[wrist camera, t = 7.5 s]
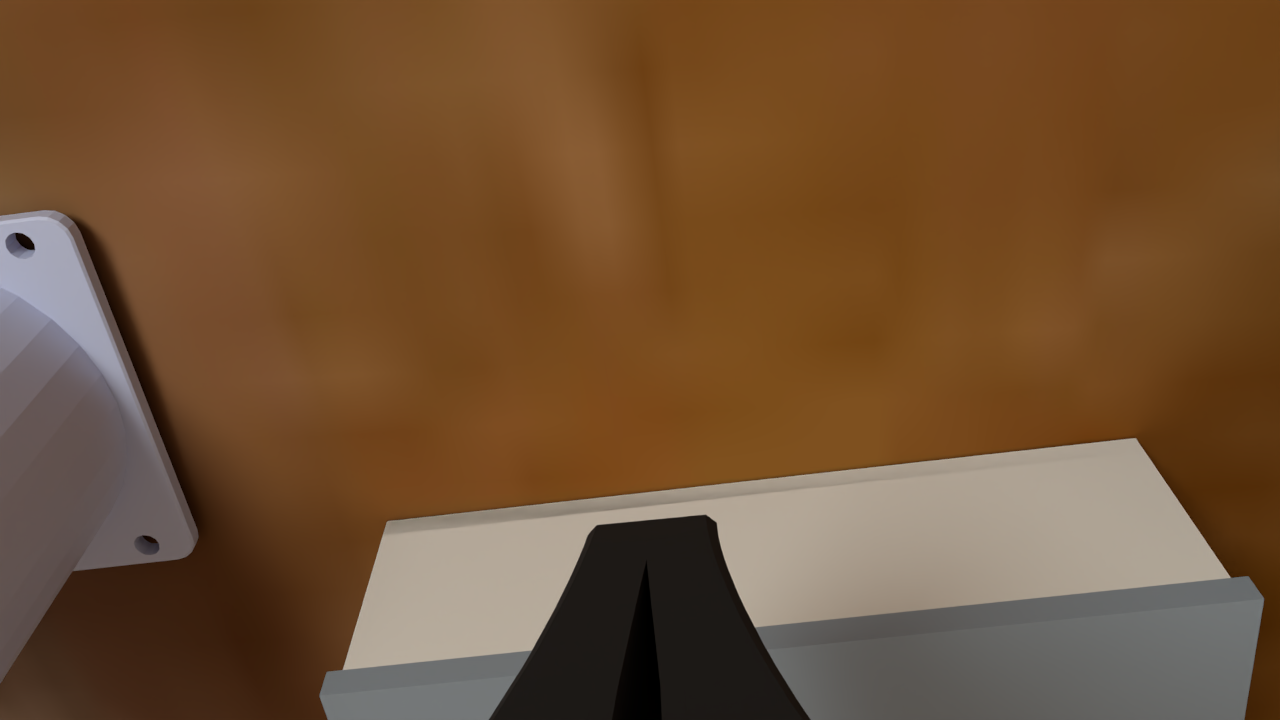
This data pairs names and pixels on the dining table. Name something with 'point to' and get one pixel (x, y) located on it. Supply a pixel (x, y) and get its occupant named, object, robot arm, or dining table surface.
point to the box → (802, 547)
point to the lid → (936, 662)
